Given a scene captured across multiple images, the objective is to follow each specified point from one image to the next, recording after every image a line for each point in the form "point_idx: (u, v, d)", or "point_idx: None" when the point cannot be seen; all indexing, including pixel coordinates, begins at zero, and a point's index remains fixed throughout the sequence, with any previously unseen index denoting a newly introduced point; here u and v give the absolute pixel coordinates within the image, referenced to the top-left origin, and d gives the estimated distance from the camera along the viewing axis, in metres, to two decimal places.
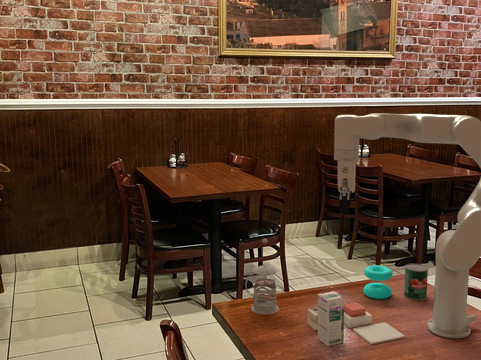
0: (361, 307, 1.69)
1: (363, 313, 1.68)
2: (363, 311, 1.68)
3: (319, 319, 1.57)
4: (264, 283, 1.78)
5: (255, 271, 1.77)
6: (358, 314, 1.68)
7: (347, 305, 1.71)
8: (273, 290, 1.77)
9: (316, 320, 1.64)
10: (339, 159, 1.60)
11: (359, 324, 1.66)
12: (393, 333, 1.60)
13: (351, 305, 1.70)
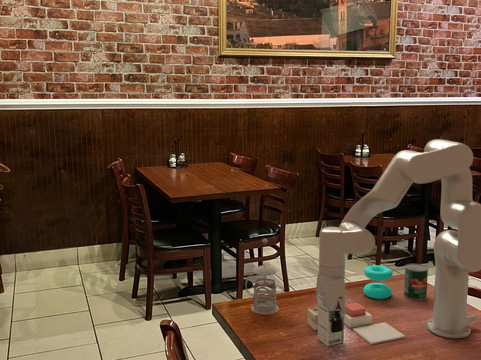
0: (361, 307, 1.69)
1: (363, 313, 1.68)
2: (363, 311, 1.68)
3: (319, 319, 1.57)
4: (264, 283, 1.78)
5: (255, 271, 1.77)
6: (358, 314, 1.68)
7: (347, 305, 1.71)
8: (273, 290, 1.77)
9: (316, 320, 1.64)
10: None
11: (359, 324, 1.66)
12: (393, 333, 1.60)
13: (351, 305, 1.70)
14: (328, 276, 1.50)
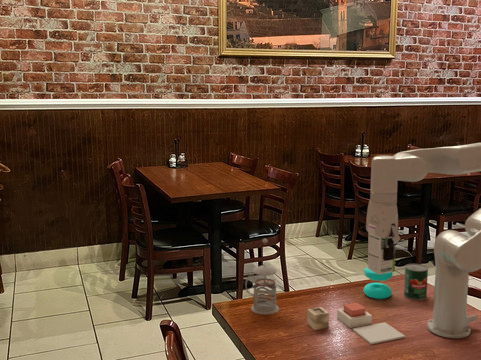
0: (361, 307, 1.69)
1: (363, 313, 1.68)
2: (363, 311, 1.68)
3: (370, 249, 1.57)
4: (264, 283, 1.78)
5: (255, 271, 1.77)
6: (358, 314, 1.68)
7: (347, 305, 1.71)
8: (273, 290, 1.77)
9: (316, 320, 1.64)
10: None
11: (359, 324, 1.66)
12: (393, 333, 1.60)
13: (351, 305, 1.70)
14: (381, 203, 1.51)
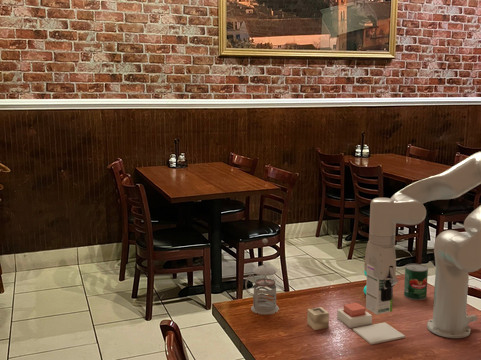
0: (361, 307, 1.69)
1: (363, 313, 1.68)
2: (363, 311, 1.68)
3: (368, 289, 1.59)
4: (264, 283, 1.78)
5: (255, 271, 1.77)
6: (358, 314, 1.68)
7: (347, 305, 1.71)
8: (273, 290, 1.77)
9: (316, 320, 1.64)
10: None
11: (359, 324, 1.66)
12: (393, 333, 1.60)
13: (351, 305, 1.70)
14: (379, 245, 1.53)
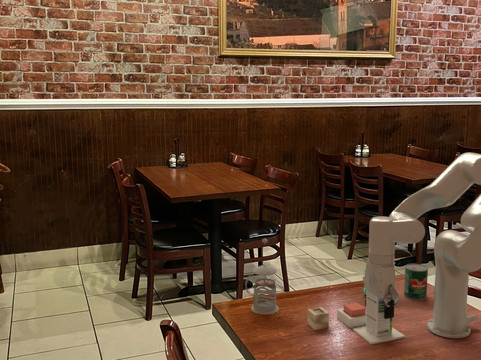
0: (361, 307, 1.69)
1: (363, 313, 1.68)
2: (363, 311, 1.68)
3: (368, 310, 1.61)
4: (264, 283, 1.78)
5: (255, 271, 1.77)
6: (358, 314, 1.68)
7: (347, 305, 1.71)
8: (273, 290, 1.77)
9: (316, 320, 1.64)
10: None
11: (359, 324, 1.66)
12: (393, 333, 1.60)
13: (351, 305, 1.70)
14: (379, 264, 1.54)
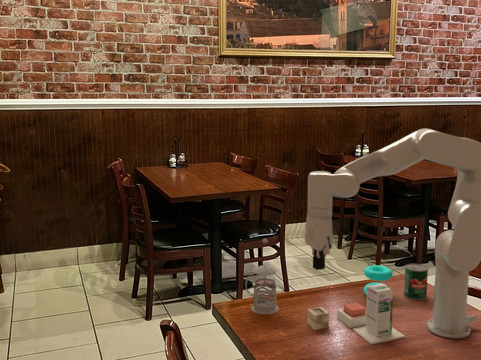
0: (361, 307, 1.69)
1: (363, 313, 1.68)
2: (363, 311, 1.68)
3: (368, 310, 1.61)
4: (264, 283, 1.78)
5: (255, 271, 1.77)
6: (358, 314, 1.68)
7: (347, 305, 1.71)
8: (273, 290, 1.77)
9: (316, 320, 1.64)
10: None
11: (359, 324, 1.66)
12: (393, 333, 1.60)
13: (351, 305, 1.70)
14: (316, 217, 1.58)
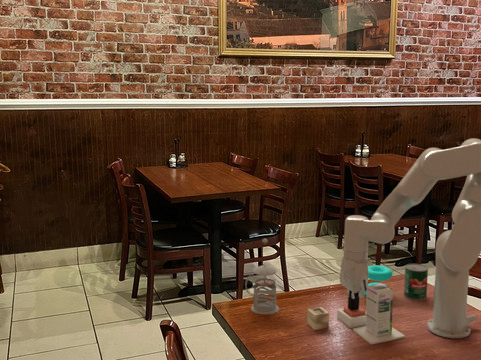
0: (361, 309, 1.69)
1: None
2: (363, 313, 1.68)
3: (368, 310, 1.61)
4: (264, 283, 1.78)
5: (255, 271, 1.77)
6: None
7: (347, 307, 1.71)
8: (273, 290, 1.77)
9: (316, 320, 1.64)
10: None
11: (359, 324, 1.66)
12: (393, 333, 1.60)
13: None
14: (353, 260, 1.63)
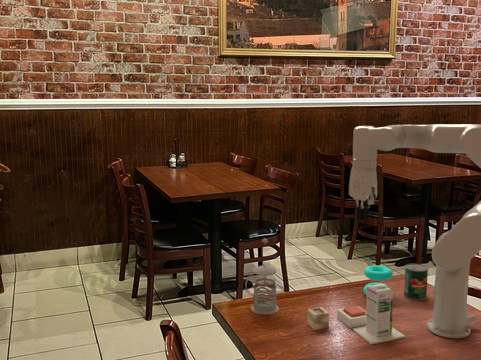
0: (361, 310, 1.69)
1: None
2: (363, 314, 1.68)
3: (368, 310, 1.61)
4: (264, 283, 1.78)
5: (255, 271, 1.77)
6: None
7: (347, 308, 1.71)
8: (273, 290, 1.77)
9: (316, 320, 1.64)
10: None
11: (359, 324, 1.66)
12: (393, 333, 1.60)
13: (351, 308, 1.71)
14: (362, 168, 1.66)
